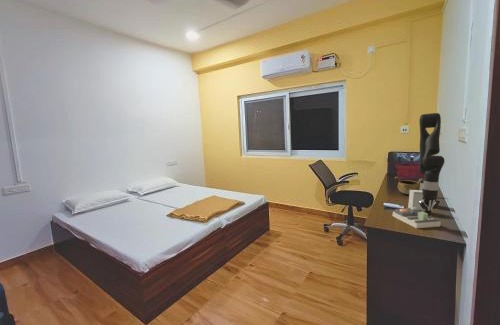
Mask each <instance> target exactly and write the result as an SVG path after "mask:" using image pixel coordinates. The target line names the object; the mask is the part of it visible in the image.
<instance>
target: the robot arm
mask: <svg viewBox="0 0 500 325" xmlns="http://www.w3.org/2000/svg"><path fill="white" fill-rule="evenodd" d="M418 122H419V136H420V138H419V163H418V171H419V174H422V175H423V176H424V177H423V178H422V179H421V178H420V179H421V180H420V179H419V180H420V189H419V190H421V191H422V195H423V198H422V201H419V204H420V205H421V207H422V208H423V209H424V211H425V213H427V214H428V216H432V212H433V210H435V209H436V208H437V207H438V206H439V204H440V203H441V202H440V200H438V199H437V197H438V196H439V188H440V187H439V183H440V182H439V180H440V174H441V171H442V169H443V167H444V165H445V158H444V157H443V156H442V155H437V154H440V150H441V149H440V148H441V147H440V137H441V136H440V135H441V123H442V117H441V114H440V113H439V112H433V113H423V114H421V115H420V116H419V121H418ZM430 128H431V129H432V128H433V130H432V132H431V133H430V132H428V130H427V129H430Z"/></svg>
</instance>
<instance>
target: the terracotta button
mask: <svg viewBox="0 0 500 325" xmlns="http://www.w3.org/2000/svg"><path fill="white" fill-rule="evenodd" d="M398 209H399V211H401V212H409V210H406V208H404V209H403V208H398Z"/></svg>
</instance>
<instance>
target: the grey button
mask: <svg viewBox="0 0 500 325" xmlns="http://www.w3.org/2000/svg"><path fill="white" fill-rule="evenodd" d="M410 210H412V211H414V212H418V211H420V208H419V207H411V208H410Z"/></svg>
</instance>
